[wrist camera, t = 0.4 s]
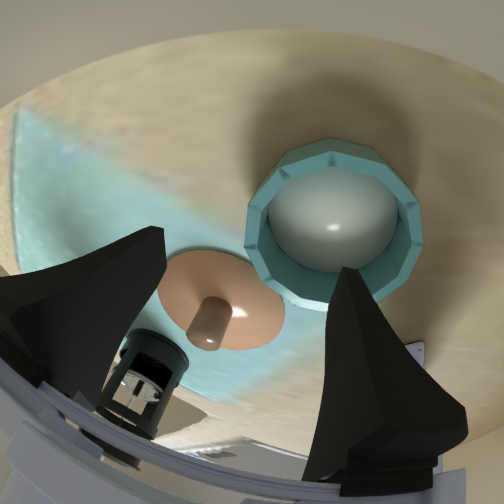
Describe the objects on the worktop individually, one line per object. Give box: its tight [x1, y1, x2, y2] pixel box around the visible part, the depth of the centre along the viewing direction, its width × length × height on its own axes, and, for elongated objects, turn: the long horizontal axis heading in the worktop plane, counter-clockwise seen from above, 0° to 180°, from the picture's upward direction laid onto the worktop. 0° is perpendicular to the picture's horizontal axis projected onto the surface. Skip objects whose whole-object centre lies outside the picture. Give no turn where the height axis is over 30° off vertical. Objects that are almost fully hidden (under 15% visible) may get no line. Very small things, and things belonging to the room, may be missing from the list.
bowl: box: [244, 137, 424, 312], centre depth 18 cm, size 11×11×4 cm
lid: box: [157, 250, 285, 351], centre depth 25 cm, size 13×13×5 cm
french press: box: [78, 329, 189, 471], centre depth 26 cm, size 12×9×23 cm
